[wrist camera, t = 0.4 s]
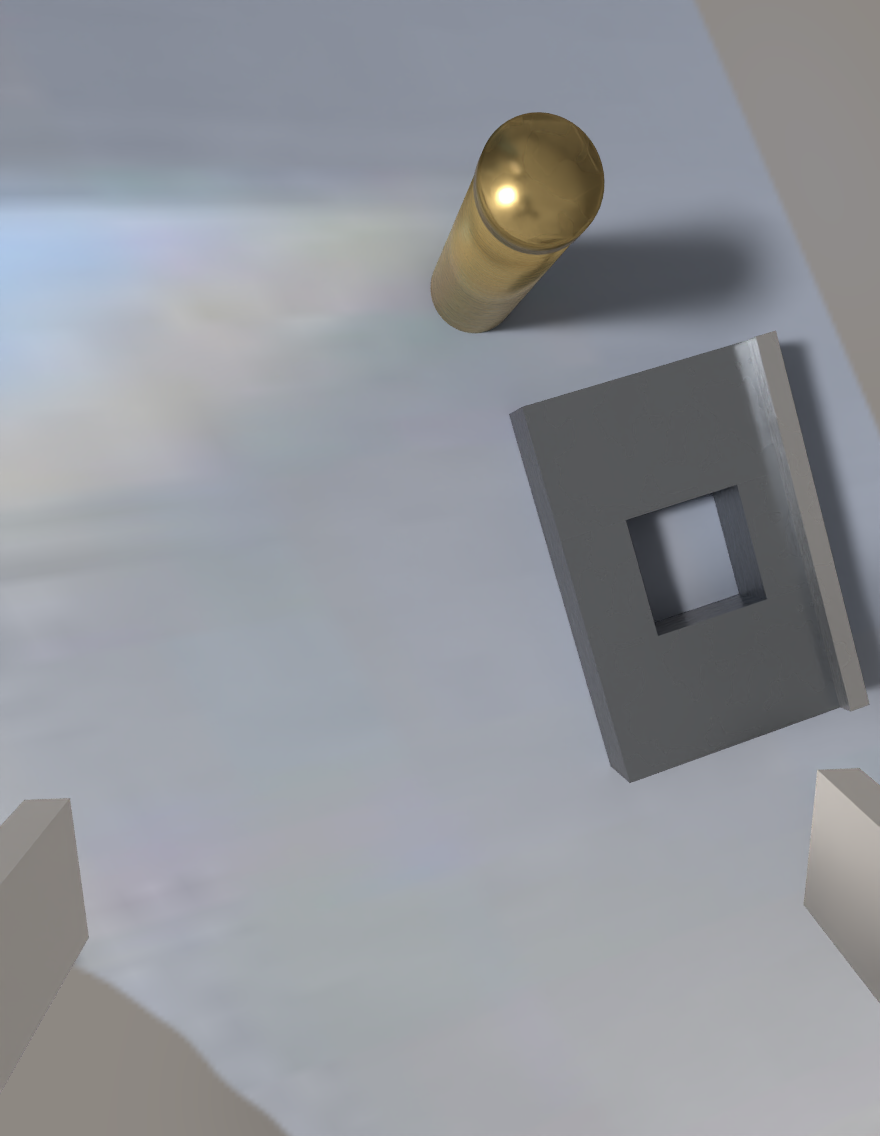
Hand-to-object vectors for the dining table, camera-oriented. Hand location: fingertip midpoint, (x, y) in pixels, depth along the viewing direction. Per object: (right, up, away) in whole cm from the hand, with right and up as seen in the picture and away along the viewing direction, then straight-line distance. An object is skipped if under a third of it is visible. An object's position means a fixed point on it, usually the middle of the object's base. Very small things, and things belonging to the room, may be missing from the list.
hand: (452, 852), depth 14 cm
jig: (+11, +6, +25) cm, 28 cm away
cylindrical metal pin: (+1, +18, +23) cm, 29 cm away
